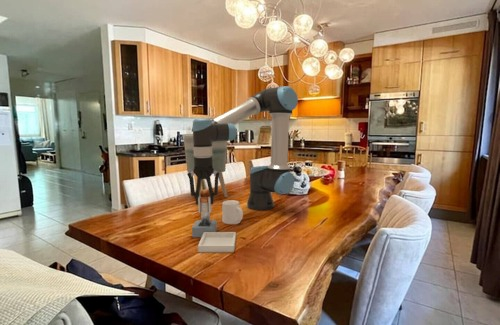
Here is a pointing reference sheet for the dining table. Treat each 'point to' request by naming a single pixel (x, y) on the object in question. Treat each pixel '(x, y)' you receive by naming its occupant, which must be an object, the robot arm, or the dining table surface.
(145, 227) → the dining table surface
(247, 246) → the dining table surface
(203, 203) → the spice jar
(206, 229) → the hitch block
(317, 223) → the dining table surface
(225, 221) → the mug
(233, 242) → the tray
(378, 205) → the dining table surface
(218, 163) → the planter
